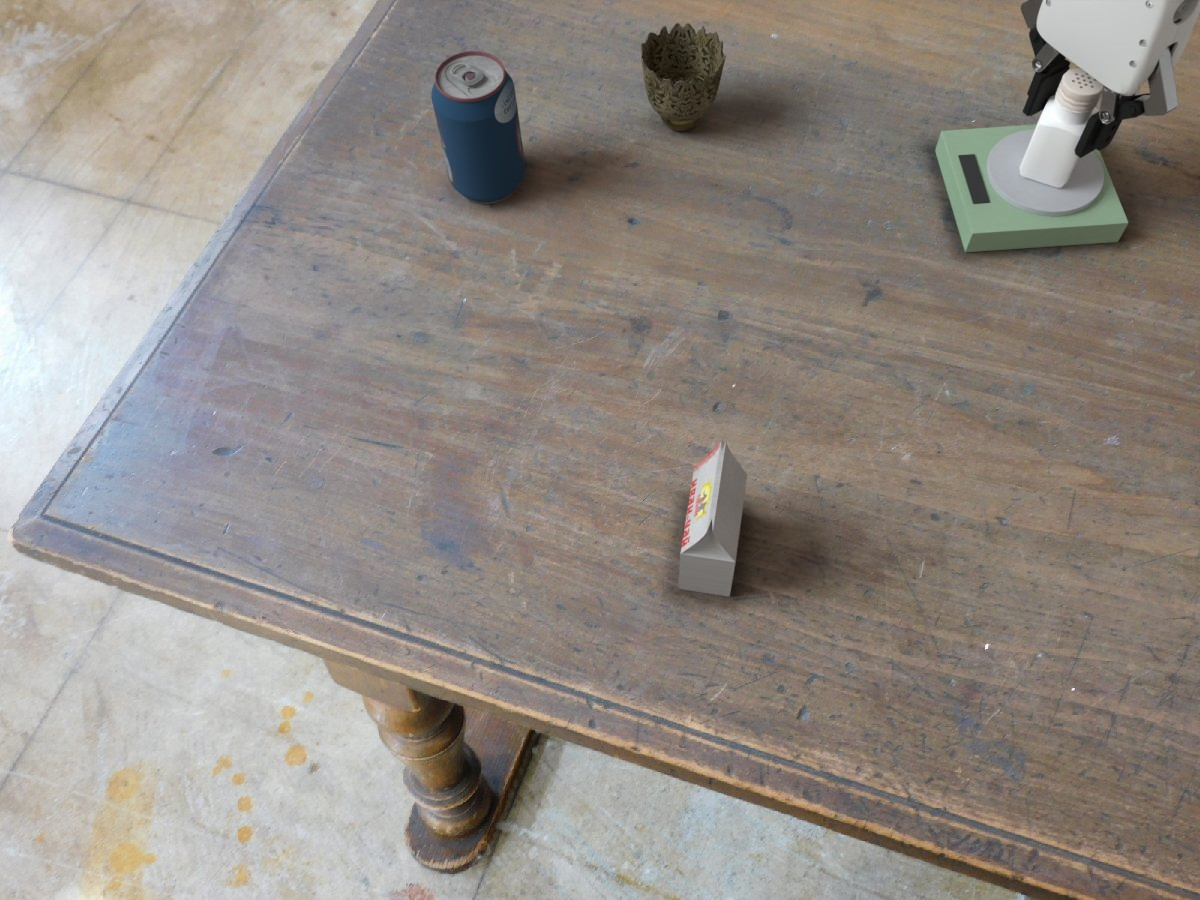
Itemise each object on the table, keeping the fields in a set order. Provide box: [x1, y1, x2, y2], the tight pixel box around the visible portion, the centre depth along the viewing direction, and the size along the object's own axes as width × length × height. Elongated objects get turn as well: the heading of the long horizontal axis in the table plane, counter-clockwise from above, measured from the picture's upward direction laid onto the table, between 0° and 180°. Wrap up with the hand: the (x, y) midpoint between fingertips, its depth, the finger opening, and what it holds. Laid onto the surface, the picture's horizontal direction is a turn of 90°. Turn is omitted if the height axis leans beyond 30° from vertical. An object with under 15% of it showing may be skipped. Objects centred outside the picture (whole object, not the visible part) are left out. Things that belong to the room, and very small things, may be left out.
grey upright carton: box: [677, 440, 748, 598], centre depth 74 cm, size 4×7×10 cm, turn 169°
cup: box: [640, 22, 727, 132], centre depth 97 cm, size 8×7×8 cm
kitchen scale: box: [934, 123, 1129, 253], centre depth 93 cm, size 13×12×3 cm
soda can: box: [430, 50, 526, 205], centre depth 92 cm, size 7×7×12 cm
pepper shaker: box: [1020, 66, 1103, 188], centre depth 88 cm, size 4×4×10 cm
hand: (1064, 126), depth 88 cm, fingers closed on pepper shaker, 5 cm apart
